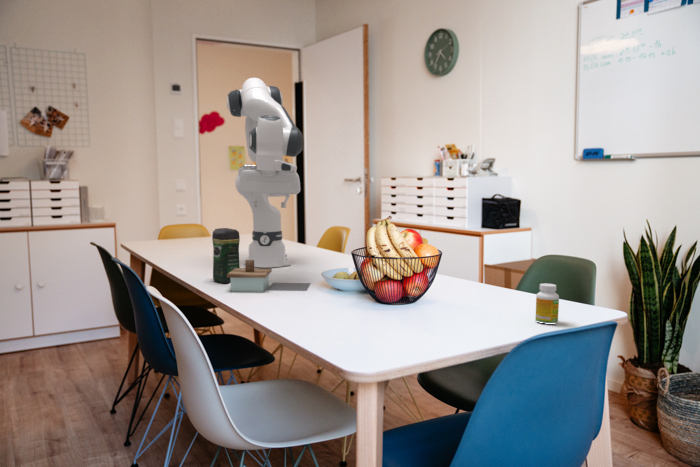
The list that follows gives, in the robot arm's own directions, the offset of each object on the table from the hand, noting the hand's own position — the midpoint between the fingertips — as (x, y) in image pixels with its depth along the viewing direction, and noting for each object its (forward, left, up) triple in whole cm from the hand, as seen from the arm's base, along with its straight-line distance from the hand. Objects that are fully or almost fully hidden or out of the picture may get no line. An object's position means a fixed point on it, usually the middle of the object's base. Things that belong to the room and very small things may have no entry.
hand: (269, 207), depth 191 cm
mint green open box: (+9, -5, -26) cm, 28 cm away
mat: (+5, +7, -26) cm, 28 cm away
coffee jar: (-5, -16, -26) cm, 31 cm away
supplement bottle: (+46, +78, -26) cm, 95 cm away
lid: (+9, -5, -21) cm, 24 cm away
